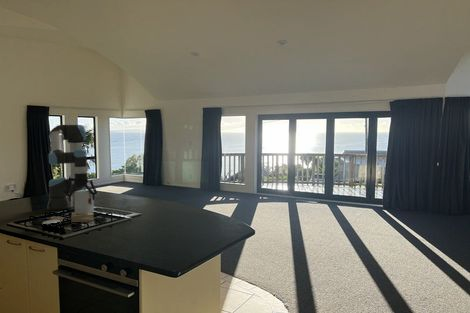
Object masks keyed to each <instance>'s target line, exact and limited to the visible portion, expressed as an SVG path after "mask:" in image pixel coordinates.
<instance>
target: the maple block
mask: <svg viewBox="0 0 470 313" xmlns="http://www.w3.org/2000/svg"><path fill="white" fill-rule="evenodd" d="M70 219H71V223H72V222H81V223H88V222H94V219H95V218H94V211H93V212H91V213H89V214H75V211H74V212H71V216H70Z"/></svg>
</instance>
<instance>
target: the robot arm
mask: <svg viewBox="0 0 470 313" xmlns="http://www.w3.org/2000/svg"><path fill="white" fill-rule="evenodd" d="M48 136H49V140H50V150H51V152H49V153H48V164H49V165H61V164H62V165H63V164H69V165H70V174H69V176H68V178H66V177H65V176H64V177H58V178H53V179H50V180H49V181H48V195H49V198H48V199H49V200H48V203H47V206H46V209H47V210H48V211H59V210H60V211H61V210H66V209H69V208H70V207H71V208H72V207H73V206H74V200H73V199H74V198H73V197H74V196H73V194H74V192H76V191H79V190H89V192H90V193H91V194H92V195H91V205H93V203H94V200H95V197H96V196H95V195H97V194H98V191H97V189H96V186H95V185H94V182H93V179H90V180H89V179H88V165H87V164H88V163H87V161H88V159H87V149H83V144H84V143H85V141H86V140H87V136H86V130H85V127H84V125H82V124H58V125H56V126H55V127H53V128H52V129H51V130H50V131H49V134H48ZM64 141H66V142H67V144H69V151H67V152H65V150H64ZM88 183H89V184H90V186H91V187H89V185H88ZM91 188H92V189H91ZM92 190H93V191H92ZM67 197H68V198H67Z"/></svg>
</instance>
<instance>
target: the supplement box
mask: <svg viewBox="0 0 470 313" xmlns="http://www.w3.org/2000/svg"><path fill="white" fill-rule="evenodd" d="M91 190H92V191H93V192H94V190H93V189H91ZM73 194H74V196H73V197H74V212H75V214H89V213H91V212H93V213H94V211H95V210H94V208H95V206H94V203H95V202H93V205H91V195H92V194H91V193H90V192H89V190H88V189H86V190H79V191H76V192H74V193H73Z"/></svg>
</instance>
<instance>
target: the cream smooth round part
mask: <svg viewBox="0 0 470 313" xmlns="http://www.w3.org/2000/svg"><path fill="white" fill-rule="evenodd" d="M57 222H60V223H61V220H60V219H48V220H45V221H42V225H43V224H50V223H57Z"/></svg>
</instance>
